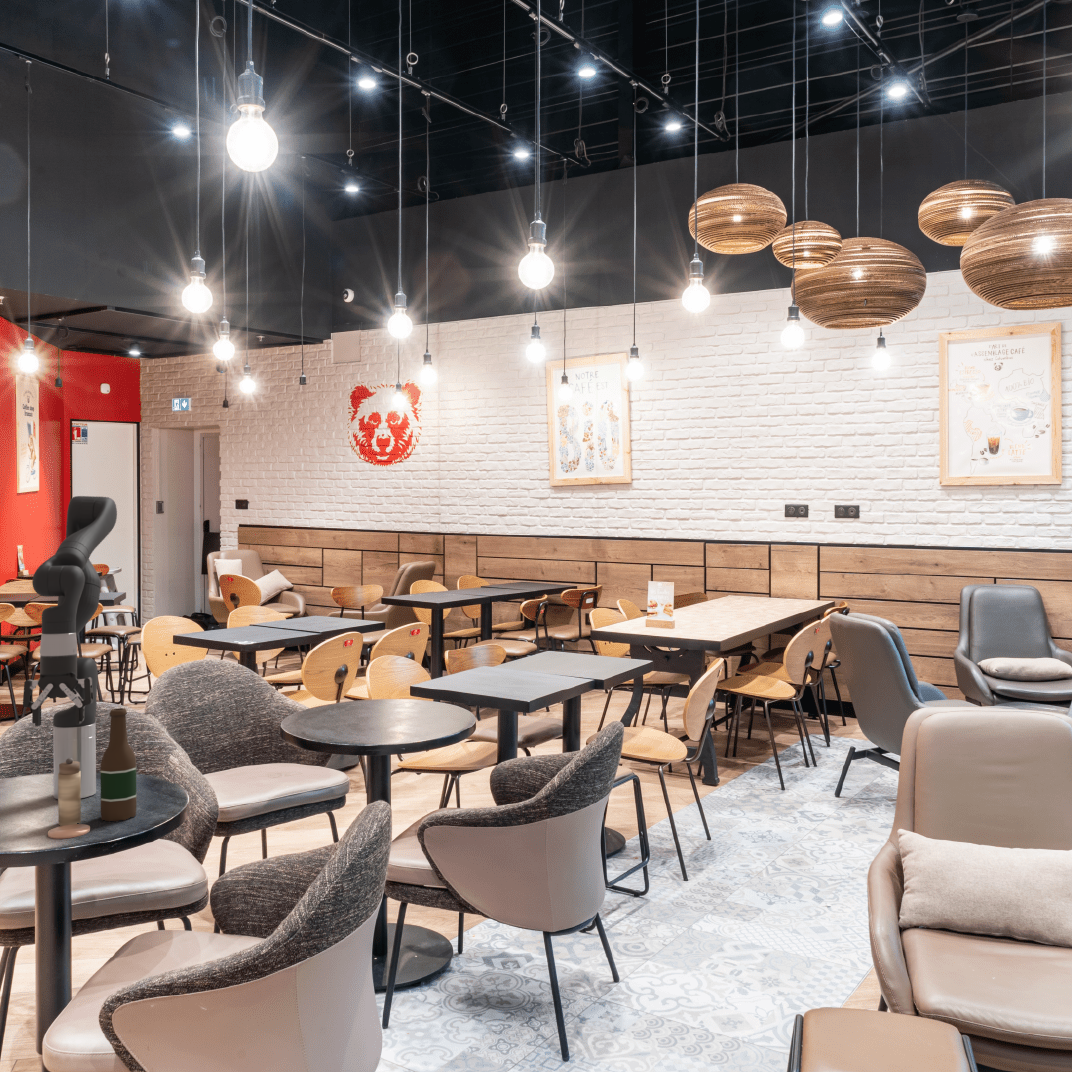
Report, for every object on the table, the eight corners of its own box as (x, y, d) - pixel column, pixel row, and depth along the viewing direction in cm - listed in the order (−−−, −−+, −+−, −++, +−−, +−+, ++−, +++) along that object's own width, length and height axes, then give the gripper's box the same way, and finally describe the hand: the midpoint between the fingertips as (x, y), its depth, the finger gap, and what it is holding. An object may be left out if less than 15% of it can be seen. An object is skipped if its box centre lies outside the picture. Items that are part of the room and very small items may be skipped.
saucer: (58, 827, 204) (58, 824, 204) (96, 826, 204) (96, 823, 204) (40, 839, 196) (40, 836, 196) (80, 838, 196) (80, 835, 196)
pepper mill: (64, 820, 209) (63, 755, 209) (84, 819, 209) (84, 755, 209) (54, 826, 205) (54, 760, 205) (75, 825, 205) (75, 760, 205)
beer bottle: (128, 822, 207) (127, 712, 208) (93, 822, 208) (92, 712, 208) (143, 811, 215) (143, 706, 215) (109, 812, 215) (109, 706, 215)
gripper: (96, 650, 221) (96, 720, 221) (29, 652, 218) (29, 723, 218) (88, 653, 214) (88, 725, 213) (19, 655, 211) (18, 728, 210)
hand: (58, 724), depth 216 cm, fingers open, 8 cm apart
